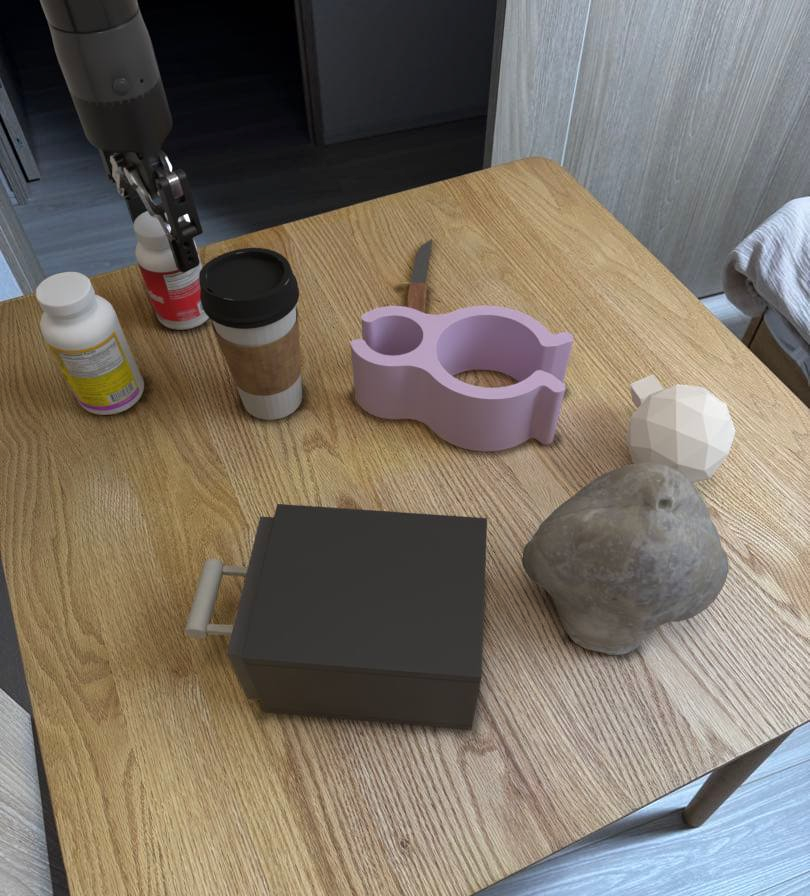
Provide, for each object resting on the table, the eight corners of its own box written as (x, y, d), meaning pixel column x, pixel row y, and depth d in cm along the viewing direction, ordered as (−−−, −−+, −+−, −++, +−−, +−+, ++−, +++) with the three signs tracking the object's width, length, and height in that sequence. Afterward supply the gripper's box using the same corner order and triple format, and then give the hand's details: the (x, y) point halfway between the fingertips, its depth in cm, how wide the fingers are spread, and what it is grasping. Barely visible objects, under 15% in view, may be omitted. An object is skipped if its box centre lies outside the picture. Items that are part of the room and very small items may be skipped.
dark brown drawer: (191, 694, 57) (163, 649, 50) (225, 566, 63) (204, 511, 56) (440, 715, 55) (443, 671, 49) (449, 583, 62) (453, 529, 55)
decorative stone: (513, 649, 59) (540, 544, 47) (515, 542, 65) (539, 423, 53) (707, 666, 58) (786, 563, 46) (692, 555, 64) (759, 437, 52)
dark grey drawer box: (265, 712, 57) (240, 658, 49) (294, 571, 64) (276, 503, 56) (471, 730, 56) (481, 677, 48) (477, 584, 63) (487, 517, 55)
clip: (343, 427, 73) (337, 374, 67) (375, 342, 79) (373, 287, 74) (549, 463, 70) (561, 411, 64) (564, 372, 77) (577, 317, 71)
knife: (406, 233, 88) (432, 234, 88) (406, 241, 89) (432, 242, 89) (395, 328, 79) (423, 329, 79) (395, 335, 80) (423, 337, 80)
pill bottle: (151, 304, 83) (119, 212, 74) (205, 289, 85) (180, 197, 76) (164, 338, 80) (132, 247, 71) (220, 322, 81) (195, 231, 72)
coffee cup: (213, 399, 75) (173, 271, 63) (278, 357, 78) (252, 227, 66) (266, 443, 72) (235, 317, 59) (332, 397, 75) (316, 269, 63)
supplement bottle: (89, 370, 78) (37, 262, 67) (152, 371, 77) (110, 264, 67) (70, 417, 74) (12, 312, 63) (137, 419, 74) (90, 313, 63)
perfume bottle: (753, 483, 66) (688, 400, 74) (755, 411, 59) (683, 328, 67) (660, 522, 67) (605, 436, 75) (650, 456, 60) (591, 369, 68)
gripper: (196, 92, 60) (237, 266, 74) (113, 32, 67) (165, 202, 80) (112, 124, 58) (170, 298, 71) (34, 59, 64) (101, 230, 77)
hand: (167, 247), depth 76 cm, fingers open, 8 cm apart
